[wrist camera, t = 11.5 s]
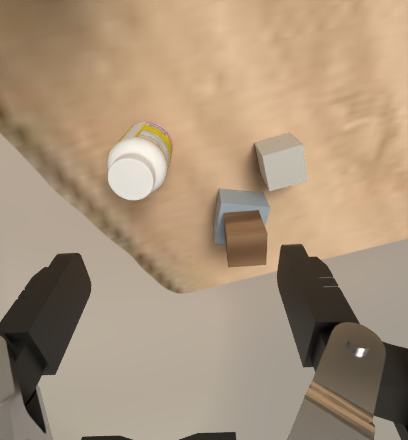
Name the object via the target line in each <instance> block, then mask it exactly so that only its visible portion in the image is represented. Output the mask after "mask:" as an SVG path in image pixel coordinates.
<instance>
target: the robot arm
mask: <svg viewBox="0 0 408 440" xmlns="http://www.w3.org/2000/svg"><path fill="white" fill-rule="evenodd" d="M277 282H278V288H279V292H280V295H281V298H282V301H283V304H284V307H285V311H286V314H287V317H288V320H289V323H290V327H291V330H292V333H293V336H294V339H295V343H296V345H297V349H298V352H299V355H300V359H301V362H302V365H303V367H314V369H315V375H314V378H313V380H312V382H311V385H310V386H309V388H308V390H307V392H306V395H305V397H304V399H303V402H302V404H301V407H300V409H299V412H298V414H297V417H296V419H295V422H294V424H293V427H292V429H291V431H290V434H289V436H288V439H287V440H374V435H375V425H374V424H373V415H374V416H377V417H380V418H383V419H387V420H390V421H393V422H394V424H395V427H396V429H397V431H398V433H399V435H400V438H401V440H408V349H407V348H403V347H399V346H395V345H391V344H388V343H385V342H382V341H381V339H380V338H379V337H378V336H377V335H376V334H375V333H374V332H373V331H371V330H370V329H368V328H367V327H365V326H363V325H360V323H359V322H358V320H357V318H356V316H355V314H354V313H353V311H352V309H351V307H350V306H349V304H348V302H347V300H346V298H345V297H344V295H343V293H342V291H341V290H340V288H338V284H337V283H336V281H335V279H333V275H332V273H331V272H330V270H329V268H328V266H327V265H326V264H325V263H323V262H322V261H321V260H320V259H319V258H318V257H308V255H307V253H306V251H305V249H304V247H303V245H302V244H293V245H282V246H281V249H280V256H279V264H278V271H277ZM90 293H91V281H90V278H89V275H88V273H87V270H86V267H85V265H84V262H83V260H82V257H81V255H80V254H79V253H66V254H58V255H56V257H55V258H54V259H53V261H52V262H51V264H50V265H49V267H44V268H43V269H42V270H40V271H39V272H38V273H37V274H36V275H34V276H33V277H32V278H31V280H30V281H29V283H28V284H27V285H26V287H25V290H23V291H22V292H21V294H20V295H19V297H18V299H17V300H16V301H15V302H14V304H13V305H12V306H11V308H10V309H9V311H8V312H7V314H6V315H5V316H4V318H3V319H2V320H1V322H0V440H53V438H52V434H51V431H50V427H49V423H48V419H47V415H46V411H45V407H44V403H43V399H42V396H41V392H40V388H39V386H38V385H37V384H38V382H39V380H40V378H41V376H42V375H55V374H56V372H57V370H58V367H59V365H60V363H61V360H62V358H63V356H64V353H65V351H66V349H67V347H68V344H69V342H70V340H71V337H72V335H73V333H74V330H75V328H76V326H77V324H78V321H79V319H80V317H81V314H82V312H83V310H84V308H85V305H86V303H87V301H88V298H89V296H90ZM81 440H132V439H129V438H125V437H122V436H92V437H82V439H81ZM180 440H236V433H235V432H224V433H197V434H194V435H191V436H188V437H185V438H183V439H180Z"/></svg>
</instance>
